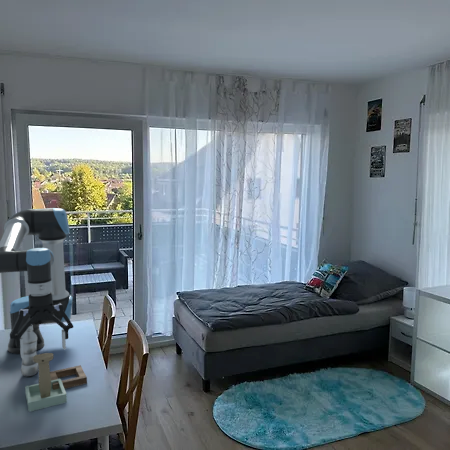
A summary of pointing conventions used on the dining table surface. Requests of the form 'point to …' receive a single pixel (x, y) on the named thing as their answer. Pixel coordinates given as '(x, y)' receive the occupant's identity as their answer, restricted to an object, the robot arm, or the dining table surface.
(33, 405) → the tray
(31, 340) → the plastic bottle
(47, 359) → the handle
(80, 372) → the brown wooden frame
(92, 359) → the dining table surface
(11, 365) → the dining table surface
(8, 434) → the dining table surface
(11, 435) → the dining table surface
